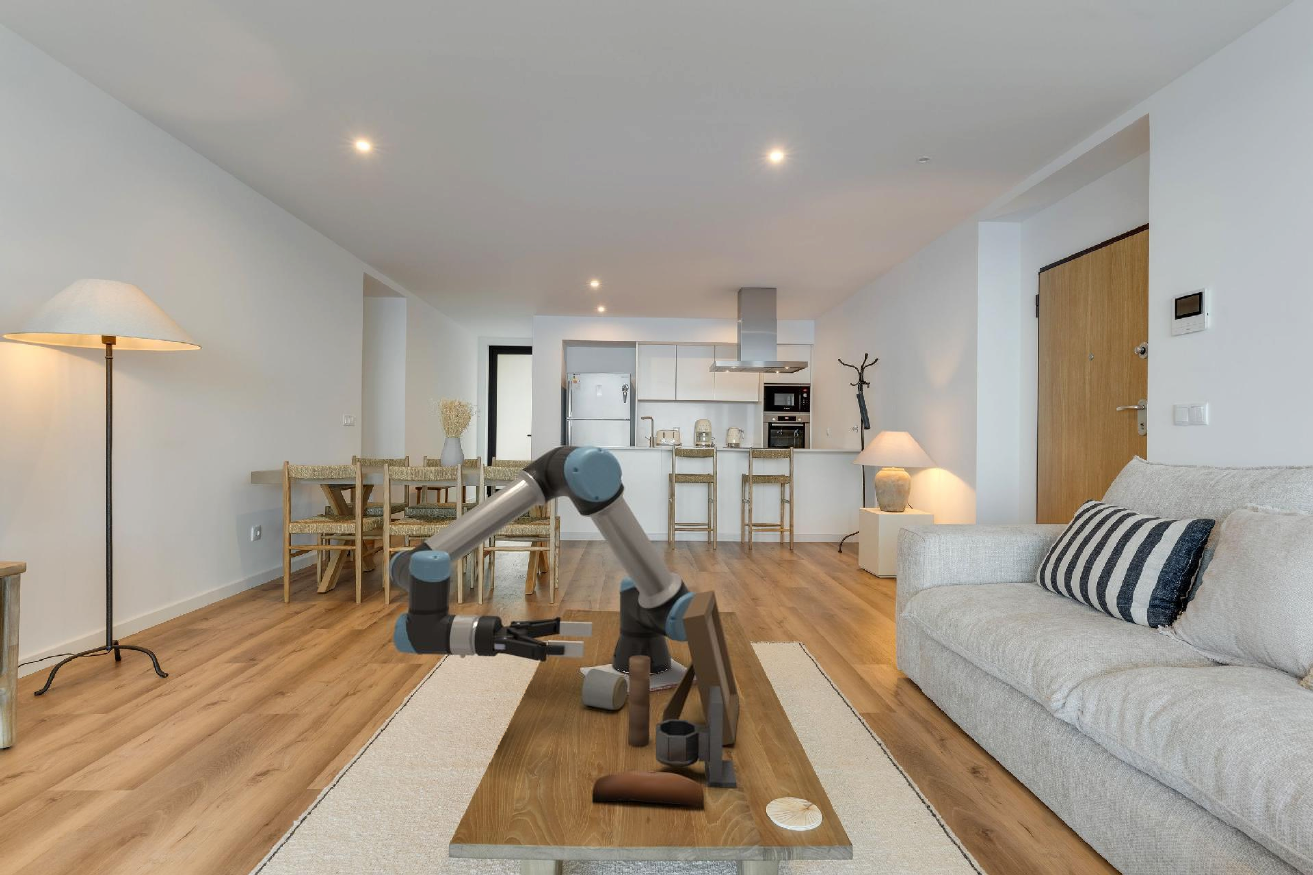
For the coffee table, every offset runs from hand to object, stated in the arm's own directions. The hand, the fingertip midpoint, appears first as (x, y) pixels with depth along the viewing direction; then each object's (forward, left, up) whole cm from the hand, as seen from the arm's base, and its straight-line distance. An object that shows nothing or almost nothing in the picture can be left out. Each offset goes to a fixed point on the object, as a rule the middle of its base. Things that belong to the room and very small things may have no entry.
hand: (588, 639), depth 132 cm
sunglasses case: (+8, +21, -20) cm, 30 cm away
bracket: (-2, +24, -20) cm, 31 cm away
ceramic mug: (-17, -9, -20) cm, 28 cm away
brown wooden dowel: (-6, +8, -20) cm, 22 cm away
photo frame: (-21, +12, -20) cm, 32 cm away
